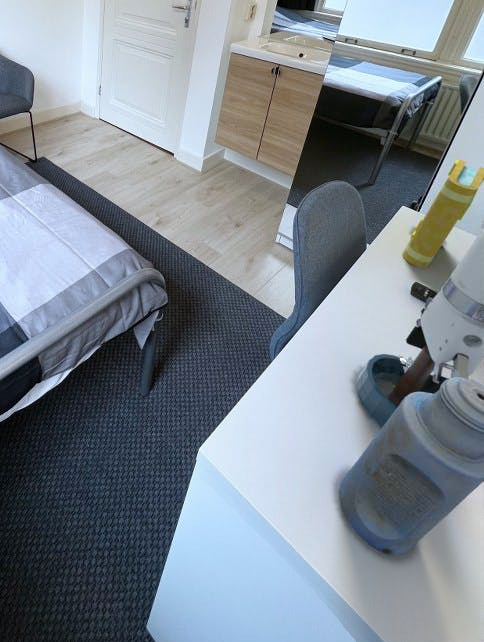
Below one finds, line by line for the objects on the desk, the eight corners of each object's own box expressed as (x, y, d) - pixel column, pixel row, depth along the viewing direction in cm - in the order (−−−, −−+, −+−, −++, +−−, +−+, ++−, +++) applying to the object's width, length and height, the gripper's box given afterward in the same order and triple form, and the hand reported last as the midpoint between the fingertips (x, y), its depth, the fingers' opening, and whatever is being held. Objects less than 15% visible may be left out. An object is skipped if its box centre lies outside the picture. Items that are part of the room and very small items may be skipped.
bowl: (425, 391, 79) (440, 372, 76) (443, 460, 69) (462, 441, 66) (351, 362, 83) (363, 343, 80) (358, 423, 73) (372, 404, 70)
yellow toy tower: (414, 231, 123) (457, 158, 111) (441, 244, 118) (489, 170, 106) (398, 257, 112) (443, 179, 100) (427, 272, 108) (479, 193, 96)
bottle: (323, 504, 62) (416, 383, 48) (354, 461, 68) (446, 342, 53) (392, 578, 56) (524, 465, 41) (421, 525, 61) (546, 408, 47)
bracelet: (403, 409, 76) (424, 383, 72) (383, 399, 77) (402, 372, 73) (402, 378, 81) (421, 352, 77) (383, 369, 82) (401, 343, 79)
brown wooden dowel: (400, 401, 76) (440, 349, 69) (403, 415, 74) (444, 362, 67) (384, 395, 77) (422, 343, 70) (386, 408, 75) (425, 355, 68)
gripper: (533, 357, 54) (465, 429, 62) (484, 269, 68) (434, 337, 77) (464, 334, 57) (407, 406, 65) (430, 253, 71) (387, 321, 79)
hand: (422, 369), depth 71 cm, fingers open, 9 cm apart
